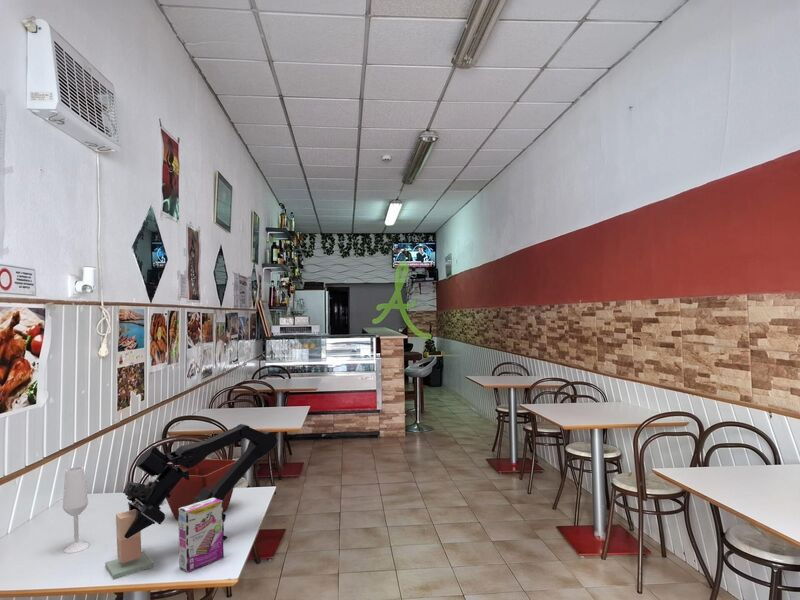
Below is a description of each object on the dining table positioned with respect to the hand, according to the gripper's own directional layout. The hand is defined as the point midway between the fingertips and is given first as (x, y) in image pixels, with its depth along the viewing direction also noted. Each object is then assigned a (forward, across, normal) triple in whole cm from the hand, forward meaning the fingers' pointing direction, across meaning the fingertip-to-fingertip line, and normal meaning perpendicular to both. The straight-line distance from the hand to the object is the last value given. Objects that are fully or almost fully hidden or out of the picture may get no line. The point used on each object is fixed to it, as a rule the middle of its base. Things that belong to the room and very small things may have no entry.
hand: (123, 534), depth 148 cm
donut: (-9, -51, +22) cm, 56 cm away
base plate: (+6, 0, +7) cm, 9 cm away
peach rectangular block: (+4, 0, +6) cm, 7 cm away
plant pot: (-14, -26, +28) cm, 41 cm away
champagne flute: (+12, -26, +1) cm, 29 cm away
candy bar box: (-5, +13, +19) cm, 23 cm away
